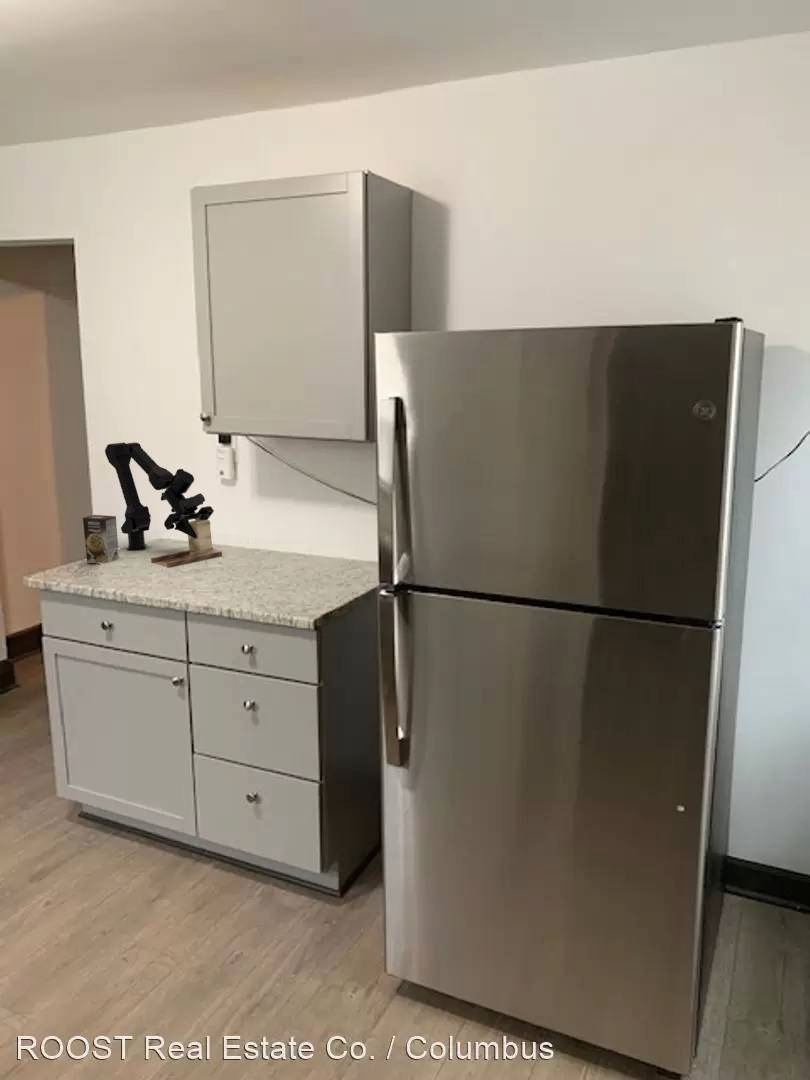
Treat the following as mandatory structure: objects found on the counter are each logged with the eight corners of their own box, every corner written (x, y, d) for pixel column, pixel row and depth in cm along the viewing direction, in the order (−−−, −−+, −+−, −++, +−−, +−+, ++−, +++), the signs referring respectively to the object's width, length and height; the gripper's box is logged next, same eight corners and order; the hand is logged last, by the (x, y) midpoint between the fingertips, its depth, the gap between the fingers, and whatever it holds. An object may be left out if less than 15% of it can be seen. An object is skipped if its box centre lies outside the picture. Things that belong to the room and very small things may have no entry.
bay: (169, 570, 276) (168, 563, 276) (151, 565, 284) (150, 558, 283) (222, 558, 291) (222, 551, 291) (204, 554, 299) (203, 547, 298)
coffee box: (86, 563, 287) (81, 517, 283) (98, 559, 293) (93, 514, 289) (108, 565, 284) (104, 518, 281) (120, 561, 290) (116, 515, 287)
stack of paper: (189, 556, 290) (186, 522, 288) (202, 553, 295) (198, 519, 293) (201, 557, 287) (197, 523, 285) (213, 554, 292) (210, 520, 289)
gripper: (167, 490, 280) (192, 526, 277) (208, 483, 296) (232, 517, 292) (153, 511, 286) (177, 546, 283) (194, 503, 302) (218, 536, 298)
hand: (202, 536), depth 289 cm, fingers closed on stack of paper, 5 cm apart
